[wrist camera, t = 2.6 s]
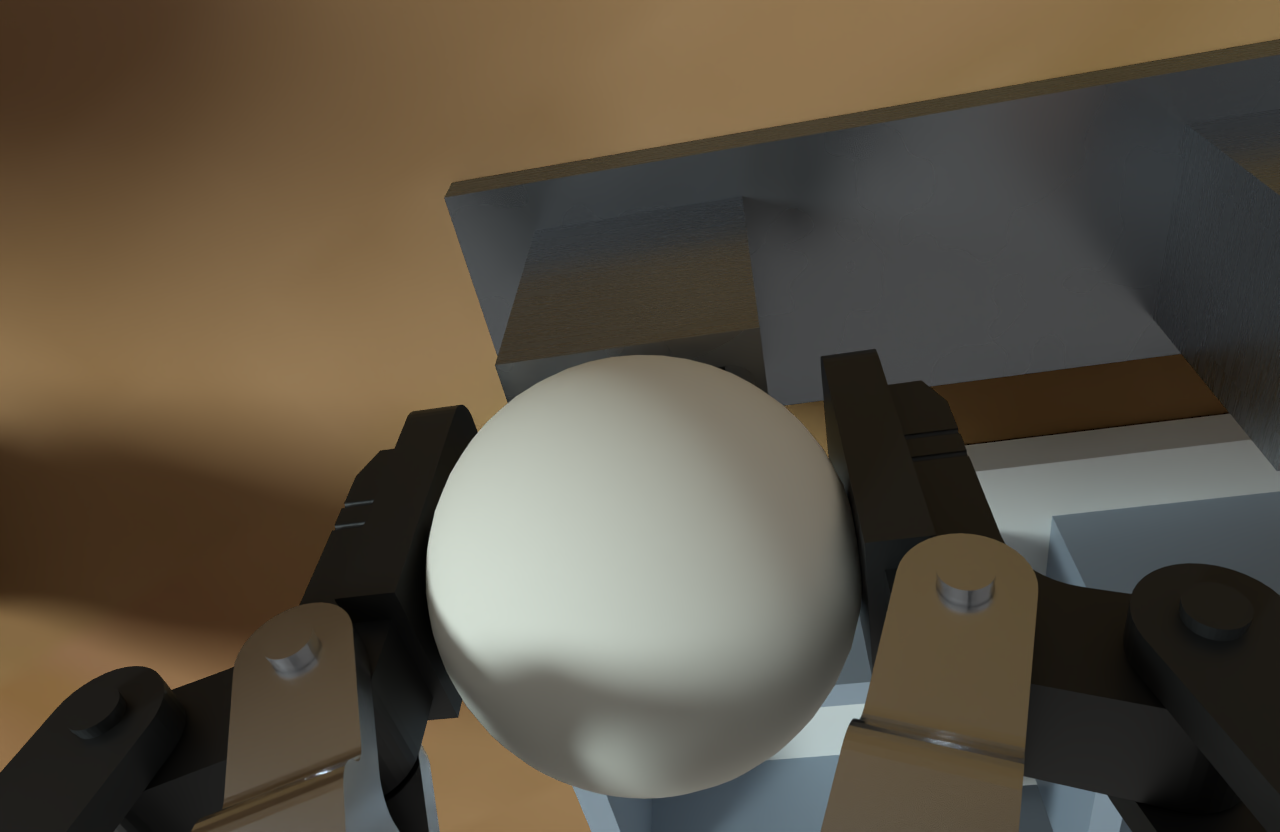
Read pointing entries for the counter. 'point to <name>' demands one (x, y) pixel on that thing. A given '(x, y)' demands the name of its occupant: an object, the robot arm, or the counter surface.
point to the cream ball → (643, 576)
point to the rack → (1055, 547)
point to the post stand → (916, 240)
